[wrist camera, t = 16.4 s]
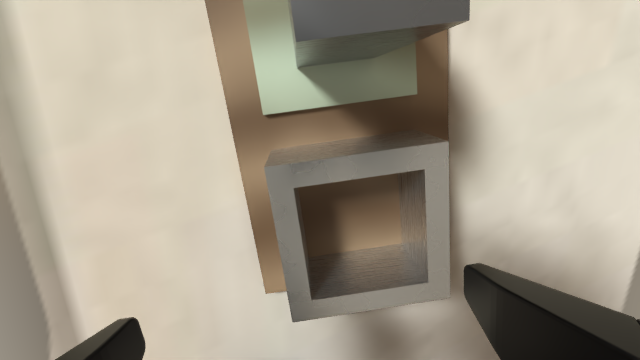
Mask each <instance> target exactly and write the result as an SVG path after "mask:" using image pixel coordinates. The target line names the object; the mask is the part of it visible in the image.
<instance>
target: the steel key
mask: <svg viewBox="0 0 640 360" xmlns="http://www.w3.org/2000/svg"><path fill="white" fill-rule="evenodd" d="M288 7H289V14H290V22H291V29H292V36H293V43H294V51H295V58H296V65H297V68H300V67H308V66H316V65H324V64H331V63H339V62H347V61H355V60H363V59H370V58H376V57H379V56H381V55H384V54H386V53H389V52H391V51H394V50H396V49H399V48H401V47H404V46H406V45H409V44H411V43H414V42H416V41H419V40H421V39H424V38H426V37H429V36H431V35H434V34H436V33H439V32H441V31H444V30H446V29H449V28H451V27H454V26H456V25H459V24H461V23H464V22H466V21H469V10H470V0H288Z"/></svg>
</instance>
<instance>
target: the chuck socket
mask: <svg viewBox="0 0 640 360" xmlns="http://www.w3.org/2000/svg"><path fill="white" fill-rule="evenodd" d="M264 170H265V176H266V181H267V187H268V192H269V197H270V203H271V208H272V214H273V219H274V224H275V230H276V235H277V241H278V246H279V251H280V257H281V262H282V268H283V273H284V278H285V284H286V289H287V295H288V300H289V305H290V311H291V316H292V322H299V321H305V320H312V319H318V318H324V317H331V316H337V315H344V314H350V313H357V312H363V311H369V310H376V309H382V308H389V307H395V306H401V305H408V304H414V303H421V302H427V301H434V300H440V299H446V298H450V223H449V141H446V140H443V139H440V138H437V137H435V136H432V135H429V134H426V133H423V132H420V131H417V130H408V131H401V132H394V133H387V134H379V135H372V136H365V137H358V138H351V139H344V140H336V141H329V142H322V143H315V144H308V145H300V146H293V147H286V148H279V149H272V150H271V152H270V154H269V157H268V159H267V161H266V164H265V166H264ZM395 173H398V185H399V202H400V219H401V236H402V243H401V244H395V245H388V246H381V247H375V248H368V249H361V250H355V251H348V252H341V253H335V254H328V255H321V256H315V257H309V256H308V250H307V244H306V237H305V231H304V224H303V218H302V212H301V205H300V199H299V192H298V187H304V186H311V185H318V184H325V183H332V182H339V181H346V180H353V179H360V178H367V177H374V176H381V175H388V174H395Z"/></svg>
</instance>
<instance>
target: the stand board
mask: <svg viewBox="0 0 640 360" xmlns="http://www.w3.org/2000/svg"><path fill="white" fill-rule="evenodd" d="M205 3H206V8H207V13H208V18H209V23H210V28H211V32H212V37H213V42H214V47H215V52H216V56H217V61H218V66H219V71H220V76H221V80H222V85H223V90H224V95H225V100H226V104H227V109H228V114H229V119H230V124H231V128H232V133H233V138H234V143H235V148H236V152H237V157H238V162H239V167H240V172H241V176H242V181H243V186H244V191H245V196H246V200H247V205H248V210H249V215H250V220H251V224H252V229H253V234H254V239H255V244H256V248H257V253H258V258H259V263H260V268H261V272H262V277H263V282H264V287H265V292H266V294H267V293H274V292H281V291H287V289H286V284H285V278H284V273H283V268H282V262H281V257H280V251H279V246H278V241H277V235H276V230H275V224H274V219H273V214H272V208H271V203H270V197H269V192H268V187H267V181H266V176H265V170H264V166H265V164H266V161H267V159H268V157H269V154H270V152H271V150H272V149H279V148H286V147H293V146H300V145H308V144H315V143H322V142H329V141H336V140H344V139H351V138H358V137H365V136H372V135H379V134H387V133H394V132H401V131H408V130H417V131H420V132H423V133H426V134H429V135H432V136H435V137H437V138H440V139H443V140H446V141H448V51H447V29H446V30H444V31H441V32H439V33H436V34H434V35H431V36H429V37H426V38H424V39H421V40H419V41H416V42H414V43H411V44H409V45H406V46H404V47H401V48H399V49H396V50H394V51H391V52H389V53H386V54H384V55H381V56H379V57H376V58H370V59H363V60H355V61H347V62H339V63H331V64H324V65H316V66H308V67H300V68H297V65H296V58H295V51H294V43H293V36H292V29H291V22H290V14H289V7H288V0H205ZM298 192H299V199H300V205H301V212H302V218H303V224H304V231H305V237H306V244H307V250H308V256H309V257H315V256H321V255H328V254H335V253H341V252H348V251H355V250H361V249H368V248H375V247H381V246H388V245H395V244H401V243H402V236H401V219H400V202H399V185H398V173H395V174H388V175H381V176H374V177H367V178H360V179H353V180H346V181H339V182H332V183H325V184H318V185H311V186H304V187H298Z"/></svg>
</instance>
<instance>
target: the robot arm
mask: <svg viewBox="0 0 640 360" xmlns="http://www.w3.org/2000/svg"><path fill="white" fill-rule="evenodd" d="M464 295H465V298H466V300H467V302H468V304H469V306H470V307H471V309H472V311H473V313H474V315H475V316H476V318H477V320H478V322H479V323H480V325H481V327H482V329H483V331H484V332H485V334H486V336H487V338H488V340H489V341H490V343H491V345H492V346H493V348H494V350H495V351H496V353H497V354H498V356H499V357H500V359H501V360H640V319H637V320H636V319H635V318H634V317H632V316H629V315H626V314H623V313H620V312H617V311H615V310H612V309H609V308H606V307H603V306H600V305H598V304H595V303H592V302H589V301H586V300H583V299H581V298H578V297H575V296H572V295H569V294H566V293H563V292H561V291H558V290H555V289H552V288H549V287H546V286H544V285H541V284H538V283H535V282H532V281H529V280H527V279H524V278H521V277H518V276H515V275H512V274H510V273H507V272H504V271H501V270H498V269H495V268H493V267H490V266H487V265H484V264H481V263H476V264H470V265H466V266H465V267H464ZM144 352H145V340H144V337H143V334H142V331H141V328H140V325H139V322H138V320H137V319H136V318H134V317H131V318H124V319H119V320H117V321H115V322H114V323H112V324H110V325H109V326H107V327H106V328H104V329H103V330H101V331H99V332H98V333H96V334H95V335H93V336H92V337H90V338H88V339H87V340H85V341H84V342H82V343H81V344H79V345H77V346H76V347H74V348H73V349H71V350H70V351H68V352H66V353H65V354H63V355H62V356H60V357H59V358H57V359H55V360H142V358H143V356H144Z"/></svg>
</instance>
